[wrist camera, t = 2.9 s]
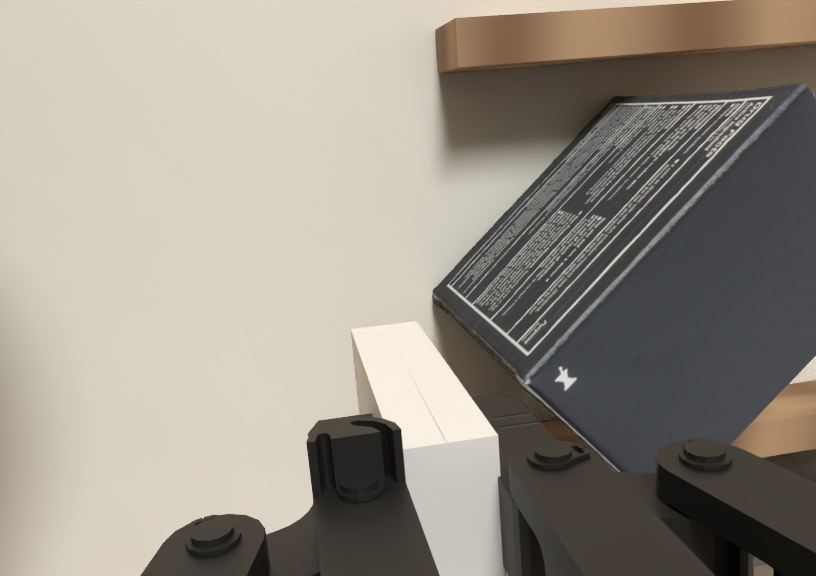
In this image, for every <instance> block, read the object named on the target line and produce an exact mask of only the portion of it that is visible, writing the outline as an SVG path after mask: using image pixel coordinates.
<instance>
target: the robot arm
mask: <svg viewBox="0 0 816 576" xmlns="http://www.w3.org/2000/svg"><path fill="white" fill-rule="evenodd" d="M351 336H352V346H353V356H354V366H355V375H356V385H357V395H358V405H359V414H360V415H356V416H349V417H342V418H335V419H328V420H321V421H318V422H317V423H316V424H315V426H314V427H313V428H312V429H311V430H310V432H309V433H308V440H307V450H308V459H309V467H310V475H311V484H312V492H313V501H314V502H313V505H312V507H311V509H310V510H309V512H308V513H307V514H306V515H304V516H303V517H302V518H301V519H300V520H298V521H296V522H295V523H293V524H291V525H290V526H288V527H285V528H283V529H280V530H278V531H275V532H273V533H270V534H267V535H266V532H265V528H264V527H263V525H262V524H261V523H260V521H259V520H257V519H254V518H252V517H249V516H247V515H235V514H226V515H219V516H218V515H211V516H207V517H204V519H202V518H200V519H197V520H195V521H193V522H191V523H190V524H188V525H186V526H184V527H182V528H181V529H179V530H177V531H175V532H174V533H173V534H172V535H171V536H170V537H169V538H168V539H167V540H166V541H165V542H164V543H163V544H162V546H161V547H160V548H159V550H158V551H157V553H156V554H155V556H154V557H153V559H152V560H151V561H150V563H149V564H148V566H147V567H146V569H145V570H144V571H143V573H142V574H141V576H507V575H506V572H507V573H508V575H509V576H754V556H755V557H756V558H758V559H759V560H761V561H763V562H764V563H766V564H768V565H769V566H771V567H772V568H773V569H774V576H816V483H815V482H813V481H811V480H808V479H806V478H804V477H802V476H800V475H798V474H795V473H793V472H791V471H789V470H787V469H785V468H782V467H780V466H778V465H776V464H774V463H771V462H769V461H767V460H765V459H763V458H761V457H758V456H756V455H754V454H752V453H750V452H748V451H745V450H743V449H741V448H738V447H736V446H733V445H730V444H727V443H723V442H717V441H712V440H710V439H707V438H698V440H696V438H687V439H684V440H682V441H677V442H671V443H669V444H667V445H665V446H663V447H661V448H660V449H659V450H658V452H657V453H656V455H655V457H656V473H629V472H614V471H613V470H612V469H611V468H610V467H609V466H608V464H607V463H606V462H605V461H604V460H603V459H602V458H601V457H600V456H599V455H598V454H597V453H596V452H594V451H593V450H591V449H590V448H588V447H587V446H584V445H581V444H577V443H574V442H568V441H558V440H556V439H555V438H554V437H553V436H552V435H551V433H550V432H549V431H548V430H547V429H546V428H545V427H544V426H543V424H542V423H539V420H538V419H537V418H536V417H535V415H534V414H531V411H530V410H529V409H528V408H527V406H526V405H525V404H524V403H523V402H522V401H521V400H518V399H516V398H514V397H511V396H509V395H506V394H504V393H498V394H491V395H484V396H477V397H470V395H469V394H468V392H467V391H466V390H465V388H464V387H463V385H462V384H461V383H460V381H459V380H458V378H457V377H456V376H455V374H454V373H453V371H452V370H451V369H450V367H449V366H448V364H447V363H446V361H445V360H444V359H443V357H442V356H441V354H440V353H439V352H438V350H437V349H436V347H435V346H434V345H433V343H432V342H431V340H430V339H429V338H428V336H427V335H426V333H425V332H424V331H423V329H422V328H421V326H420V325H419V324H418V322H417V321H413V322H405V323H397V324H389V325H381V326H372V327H364V328H356V329H351Z"/></svg>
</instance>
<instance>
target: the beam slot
mask: <svg viewBox="0 0 816 576" xmlns="http://www.w3.org/2000/svg"><path fill="white" fill-rule="evenodd" d="M436 43H437V57H438V72H439V73H450V72H464V71H477V70H490V69H503V68H517V67H530V66H543V65H557V64H570V63H583V62H596V61H610V60H623V59H636V58H649V57H663V56H676V55H689V54H702V53H716V52H729V51H742V50H756V49H769V48H782V47H795V46H809V45H816V0H732V1H717V2H701V3H685V4H670V5H654V6H639V7H623V8H607V9H592V10H576V11H561V12H545V13H529V14H514V15H498V16H482V17H467V18H455V19H453V20H452V21H450V22H448V23H446V24H445V25H443V26H441V27H439V28H438V29H436ZM539 423H542V424H543V426H544V427H545V428H546V429H547V430H548V431H549V432H550V433H551V435H552V436H553V437H554V438H555V439H556V440H558V441H568V442H574V443H577V444H581V445H584V446H587V447H588V448H590V447H589V446H588V445H586V444H585V443H584V442H583V441H582V440H581V439H580V438H578V437H577V436H576V435H575V434H574V433H573V432H572V431H571V430H570V429H569V428H568V427H567V426H565V425H564V424H563V423H562V422H561V421H560V420H559V419H558V420H551V421H545V422H539ZM731 445H733V446H736V447H738V448H741V449H743V450H745V451H748V452H750V453H752V454H754V455H756V456H758V457H761V458H763V457H769V456H775V455H781V454H787V453H793V452H799V451H805V450H811V449H816V380H815V381H809V382H802V383H795V384H789V385H787V386H786V387H785V388H784V389H783V390H782V391H781V392H780V394H779V395H778V396H777V397H776V398H775V399H774V400H773V401H772V402H771V403H770V404H769V405H768V406H767V407H766V408H765V409H764V410H763V411H762V412H761V413H760V415H759V416H758V417H757V418H756V419H755V420H754V421H753V422H752V423H751V424H750V425H749V426H748V427H747V428H746V429H745V430H744V431H743V432H742V434H741V435H740V436H739V437H738V438H737V439H736V440H735V441H734V442H733V443H732V444H731ZM590 449H591V448H590ZM591 450H592V449H591ZM608 466H609V465H608ZM609 467H610V466H609ZM610 468H611V467H610ZM611 469H612V468H611ZM612 470H613V469H612ZM613 471H614V470H613ZM614 472H616V471H614Z"/></svg>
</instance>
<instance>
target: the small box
mask: <svg viewBox="0 0 816 576" xmlns="http://www.w3.org/2000/svg"><path fill="white" fill-rule="evenodd" d="M433 298H434V303H435V304H436V305H438V306H440V307H441V308H442V309H443V310H445V311H446V312H447V313H448V314H450V315H451V316H452V317H453V318H454V319H455V320H456V321H457V322H458V323H459V324H460V325H461V326H462V327H463V328H464V329H465V330H466V331H467V332H468V333H469V334H470V335H471V336H472V337H473V338H474V339H475V340H476V341H477V342H478V343H479V344H480V345H481V346H482V347H483V348H484V349H485V350H486V351H487V352H488V353H489V354H490V355H491V356H492V357H493V358H494V359H495V360H496V361H497V362H498V363H499V364H500V365H502V366H503V367H504V368H505V369H506V370H507V371H508V372H509V373H510V374H511V375H512V376H513V377H514V378H515V379H516V380H517V381H518V382H519V383H520V385H521V386H522V387H523V388H524V389H525V390H526V391H527V392H529V393H530V394H531V395H533V396H534V397H535V398H536V399H537V400H538V401H539V402H540V403H542V404H543V405H544V406H545V407H546V408H547V409H548V410H549V411H550V412H551V413H552V414H554V415H555V416H556V417H557V418H558V419H559V420H560V421H561V422H562V423H563V424H564V425H565V426H567V427H568V428H569V429H570V430H571V431H572V432H573V433H574V434H575V435H576V436H577V437H578V438H580V439H581V440H582V441H583V442H584V443H585V444H586V445H588V446H589V447H590V448H591V449H592V450H593V451H594V452H596V453H597V454H598V455H599V456H600V457H601V458H602V459H603V460H604V461H605V462H606V463H607V464H608V465H609V466H610V467H611V468H612V469H613V470H614V471H616V472H629V473H656V457H655V455H656V453H657V452H658V450H659V449H660V448H661V447H663V446H665V445H667V444H669V443H671V442H677V441H682V440H684V439H687V438H696V440H698V438H707V439H710V440H712V441H717V442H723V443H727V444H730V445H731V444H732V443H733V442H734V441H735V440H736V439H737V438H738V437H739V436H740V435H741V434H742V432H743V431H744V430H745V429H746V428H747V427H748V426H749V425H750V424H751V423H752V422H753V421H754V420H755V419H756V418H757V417H758V416H759V415H760V413H761V412H762V411H763V410H764V409H765V408H766V407H767V406H768V405H769V404H770V403H771V402H772V401H773V400H774V399H775V398H776V397H777V396H778V395H779V394H780V392H781V391H782V390H783V389H784V388H785V387H786V386H787V385H788V384H789V383H790V382H791V381H792V380H793V379H794V378H795V377H796V376H797V375H798V374H799V373H800V372H801V370H802V369H803V368H804V367H805V366H806V365H807V364H808V363H809V362H810V361H811V360H812V359H813V358H814V357H815V356H816V95H815V94H814V93H813V92H812V91H811V89H810V88H809V87H808V85H806V84H803V83H797V84H787V85H782V86H779V87H775V88H763V89H756V90H744V91H732V92H708V93H693V94H680V95H679V94H676V95H664V96H660V95H654V96H641V97H640V96H636V97H634V96H631V97H622V96H616V97H614V98H613V99H612V100H611V101H610V102H609V103H608V105H607V106H606V107H605V108H604V109H603V110H602V111H601V112H600V113H599V114H598V115H597V116H596V117H595V118H594V119H593V120H592V121H591V122H590V123H589V124H588V125H587V126H586V127H585V128H584V130H583V131H582V132H581V133H580V134H579V135H578V136H577V137H576V138H575V139H574V140H573V141H572V143H571V144H570V145H569V146H568V147H567V148H566V149H565V150H564V151H563V152H562V153H561V154H560V155H559V156H558V157H557V158H556V159H555V160H554V161H553V162H552V164H551V165H550V166H549V167H548V168H547V169H546V170H545V171H544V172H543V173H542V174H541V175H540V176H539V178H538V179H537V180H536V181H535V182H534V183H533V184H532V185H531V186H530V187H529V188H528V189H527V190H526V191H525V192H524V194H523V195H522V196H521V197H520V198H519V199H518V200H517V201H516V202H515V203H514V204H513V205H512V207H511V208H510V209H509V210H507V211H506V212H505V213H504V214H503V216H502V217H501V218H500V219H499V220H498V221H497V222H496V223H495V224H494V226H493V227H492V228H491V229H490V230H489V231H488V232H487V233H486V234H485V235H484V236H483V237H482V238H481V239H480V240H479V241H478V242H477V244H476V245H475V246H474V247H473V248H472V249H471V250H470V251H469V252H468V253H467V254H466V255H465V256H464V258H463V259H462V260H461V261H460V262H459V263H458V264H457V265H456V266H455V268H454V269H453V270H452V271H451V272H450V273H449V274H448V275H447V276H446V277H445V278H444V280H443V281H442V282H441V283H440V284H439V285H438V286H437V287H436V288H435V289H433Z"/></svg>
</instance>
